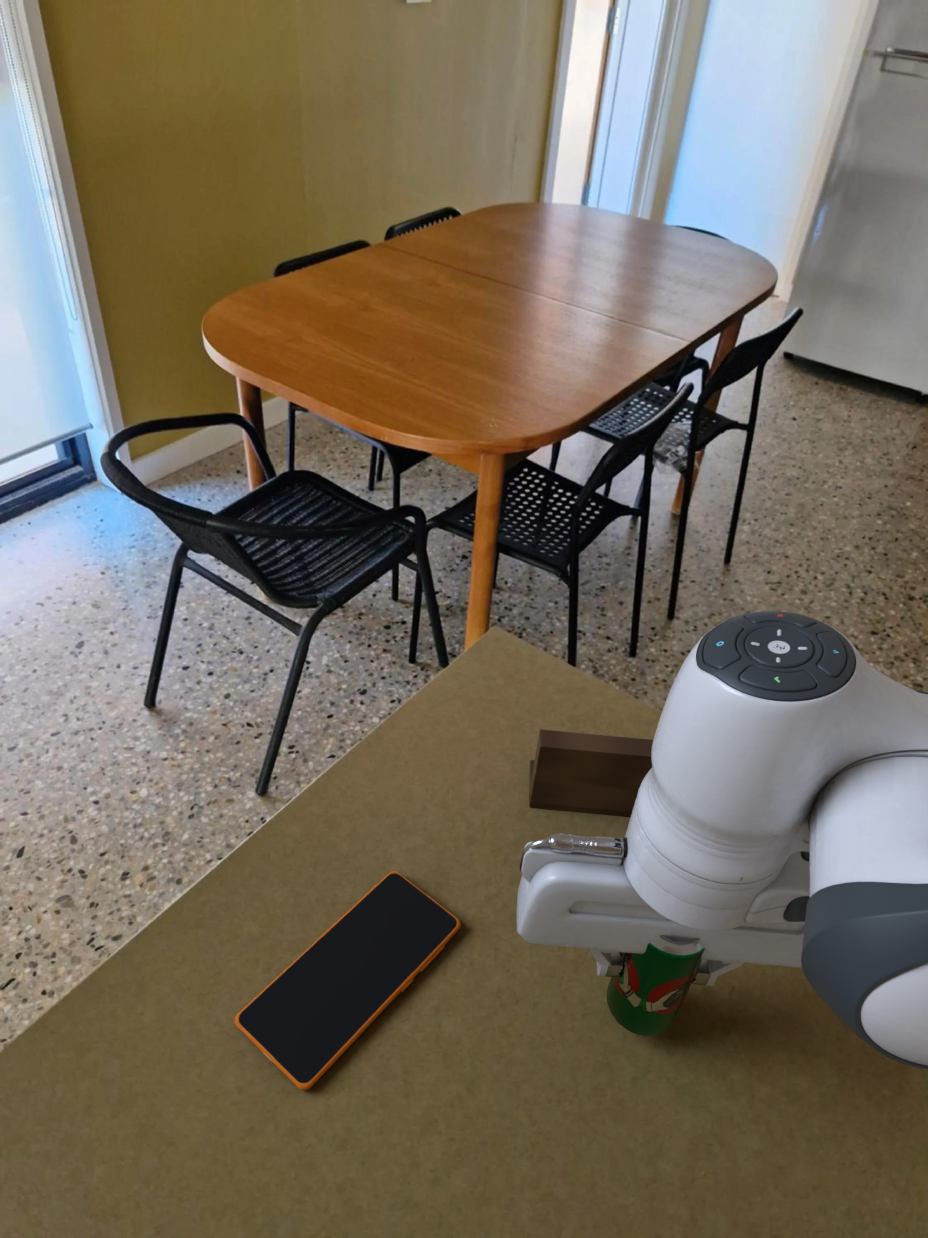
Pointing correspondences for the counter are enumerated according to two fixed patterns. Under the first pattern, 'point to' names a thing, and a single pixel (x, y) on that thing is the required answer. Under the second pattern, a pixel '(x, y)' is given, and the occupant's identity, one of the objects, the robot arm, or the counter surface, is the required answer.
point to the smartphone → (346, 979)
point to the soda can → (654, 985)
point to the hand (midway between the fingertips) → (653, 971)
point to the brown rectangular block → (588, 772)
